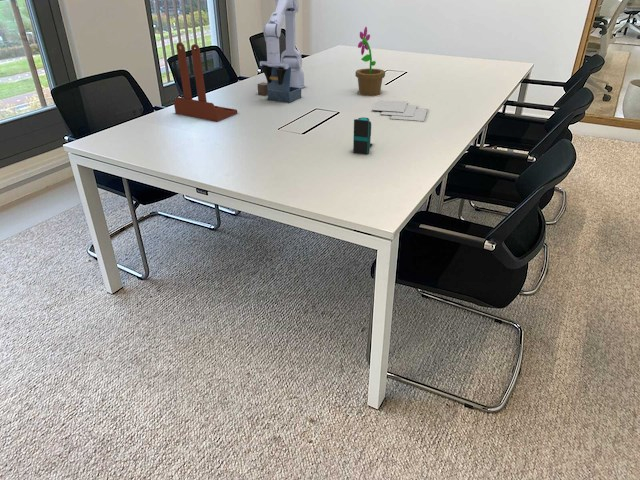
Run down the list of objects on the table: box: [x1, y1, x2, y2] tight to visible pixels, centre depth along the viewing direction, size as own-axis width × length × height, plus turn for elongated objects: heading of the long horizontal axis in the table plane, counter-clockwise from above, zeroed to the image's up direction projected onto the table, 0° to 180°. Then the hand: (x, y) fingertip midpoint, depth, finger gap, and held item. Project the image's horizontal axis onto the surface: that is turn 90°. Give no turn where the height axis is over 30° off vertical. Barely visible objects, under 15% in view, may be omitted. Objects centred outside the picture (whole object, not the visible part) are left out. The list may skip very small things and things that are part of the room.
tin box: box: [267, 87, 302, 104], centre depth 236 cm, size 10×12×4 cm
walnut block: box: [257, 81, 268, 96], centre depth 243 cm, size 4×4×5 cm
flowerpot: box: [355, 26, 386, 97], centre depth 236 cm, size 14×14×30 cm
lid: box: [266, 67, 291, 92], centre depth 227 cm, size 11×12×4 cm
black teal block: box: [352, 116, 373, 155], centre depth 175 cm, size 6×12×10 cm
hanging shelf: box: [173, 42, 238, 123], centre depth 210 cm, size 24×13×30 cm, turn 59°
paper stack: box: [371, 99, 428, 122], centre depth 217 cm, size 23×25×1 cm
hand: (274, 83), depth 227 cm, fingers closed on lid, 5 cm apart
